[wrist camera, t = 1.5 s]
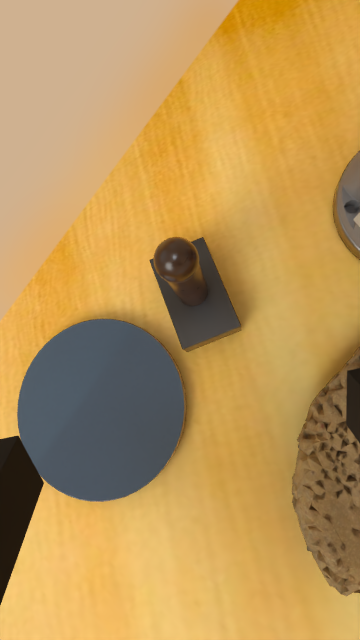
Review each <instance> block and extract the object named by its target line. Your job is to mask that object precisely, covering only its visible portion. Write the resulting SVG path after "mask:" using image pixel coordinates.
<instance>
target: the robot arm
mask: <svg viewBox="0 0 360 640" xmlns="http://www.w3.org/2000/svg"><path fill="white" fill-rule="evenodd" d="M333 215H334V221H335V225H336V228H337V230H338V233H339V235H340V237H341V239H342V241H343V242H344V243H345V245H346V246H347V248H348V249H349V250H350V251H351V252H352V253H353V254H354V255H355V256H356V257H357V258H358V259H359V260H360V151H359V152H358V153H357V154H356V155H355V156H354V157H353V159H352V160H351V161H350V162H349V164H348V165H347V167H346V168H345V170H344V172H343V174H342V176H341V178H340V181H339V183H338V185H337V188H336V191H335V194H334V200H333ZM346 425H347V426H348V428H349V429H350V431H351V432H352V433H353V435H354V436H355V438H356V439H357V440H358V442H359V443H360V368H358V369H353V370H347V403H346ZM43 484H44V482H43V480H42V478H41V477H40V475H39V473H38V471H37V469H36V467H35V465H34V464H33V462H32V460H31V458H30V456H29V454H28V453H27V451H26V449H25V447H24V445H23V443H22V441H21V440H20V438H19V436H14V437H9V438H4V439H0V605H1V602H2V599H3V596H4V593H5V591H6V588H7V585H8V582H9V579H10V577H11V574H12V571H13V568H14V565H15V563H16V560H17V557H18V554H19V551H20V548H21V546H22V543H23V540H24V537H25V534H26V532H27V529H28V526H29V523H30V520H31V518H32V515H33V512H34V509H35V506H36V503H37V501H38V498H39V495H40V492H41V489H42V487H43Z"/></svg>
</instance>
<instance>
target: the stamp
mask: <svg viewBox="0 0 360 640" xmlns="http://www.w3.org/2000/svg"><path fill="white" fill-rule="evenodd" d="M150 263H151V266H152V268H153V271H154V274H155V276H156V279H157V282H158V285H159V287H160V290H161V293H162V295H163V298H164V301H165V303H166V306H167V309H168V311H169V314H170V317H171V319H172V322H173V325H174V327H175V330H176V333H177V336H178V338H179V341H180V344H181V346H182V349H183V350H185V351H186V352H188V351H191V350H193V349H196V348H198V347H201V346H203V345H206V344H208V343H211V342H213V341H216V340H218V339H221V338H223V337H226V336H229V335H231V334H234V333H236V332H239V331H241V325H240V322H239V320H238V318H237V315H236V313H235V311H234V308H233V306H232V304H231V301H230V299H229V296H228V294H227V292H226V289H225V287H224V285H223V282H222V280H221V278H220V275H219V273H218V271H217V268H216V266H215V264H214V261H213V259H212V257H211V254H210V252H209V250H208V247H207V245H206V242H205V240H204V238H203V237H202V238H199V239H197V240H195V241H192V242H190V241H188V240H187V239H184V238H181V237H172V238H168V239H166V240H164V241H163V242H162V243H161V244H160V245H159V246H158V247H157V249H156V251H155V254H154V258H153V259H151V260H150Z"/></svg>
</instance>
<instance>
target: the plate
mask: <svg viewBox="0 0 360 640" xmlns="http://www.w3.org/2000/svg"><path fill="white" fill-rule="evenodd" d="M17 415H18V428H19V433H20V438H21V441H22V443H23V445H24V447H25V449H26V451H27V453H28V454H29V456H30V458H31V460H32V462H33V464H34V465H35V467H36V469H37V471H38V473H39V475H40V476H41V477H42V478H43V479H44V480H45V481H46V482H47V483H49V484H50V485H51V486H52V487H54V488H55V489H57V490H58V491H60V492H62V493H64V494H66V495H68V496H70V497H73V498H77V499H80V500H85V501H95V502H103V501H110V500H116V499H119V498H122V497H126V496H128V495H130V494H132V493H134V492H136V491H138V490H140V489H141V488H143V487H144V486H146V485H147V484H148V483H149V482H151V481H152V480H153V479H154V478H155V477H156V476H157V475H158V474H159V473H160V472H161V471H162V470H163V469H164V467H165V466H166V465H167V464H168V462H169V461H170V459H171V458H172V456H173V455H174V453H175V451H176V448H177V446H178V444H179V442H180V439H181V436H182V433H183V429H184V424H185V418H186V394H185V388H184V383H183V380H182V377H181V374H180V371H179V369H178V367H177V365H176V362H175V361H174V359H173V358H172V356H171V354H170V353H169V352H168V350H167V349H166V348H165V347H164V346H163V344H162V343H160V342H159V341H158V340H157V339H156V338H155V337H154V336H152V335H151V334H149V333H148V332H146V331H145V330H143V329H141V328H139V327H137V326H135V325H133V324H130V323H127V322H124V321H119V320H114V319H95V320H89V321H85V322H81V323H78V324H76V325H73V326H71V327H69V328H67V329H65V330H63V331H62V332H60V333H59V334H57V335H56V336H54V337H53V338H52V339H51V340H50V341H49V342H48V343H46V344H45V346H44V347H43V348H42V349H41V350H40V351H39V352H38V354H37V355H36V357H35V358H34V359H33V361H32V363H31V365H30V366H29V368H28V370H27V372H26V375H25V377H24V380H23V383H22V386H21V390H20V394H19V400H18V414H17Z"/></svg>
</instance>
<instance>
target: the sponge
mask: <svg viewBox="0 0 360 640" xmlns="http://www.w3.org/2000/svg"><path fill="white" fill-rule="evenodd" d="M358 368H360V347H359V348H358V349H357V350H356V351H355V353H354V355H353V356H352V358H351V359H350V360H349V361H348V362H347V363H346V364H345V366H344V367H343V368H342V370H341V371H340V372H339V373H338V374H336V375H335V376H334V377H333V378H332V379H331V380H330V382H329V383H328V384H327V385H326V387H325V388H324V389H322V390H321V391H320V392H319V394H318V395H317V396H316V398H315V399H314V400H313V402H312V404H311V406H310V409H309V412H308V416H307V419H306V423H305V424H304V426H303V428H302V431H301V433H300V435H299V437H298V439H297V441H298V442H299V445H298V448H299V452H298V457H297V463H296V469H295V473H294V475H293V478H292V479H293V486H292V494H293V500H292V503H293V506H294V509H295V512H296V513H297V516H298V520H299V524H300V528H301V531H302V534H303V536H304V539H305V541H306V544H307V550H308V551H311V552H312V554H313V557H314V559H315V561H316V562H317V564H318V566H319V568H320V570H321V572H322V573H323V575H324V577H325V578H326V580H327V582H328V583H329V585H330V586H332V587H335V588H336V589H337V590H338V591H339V593H340V594H342V595H345V596H348V595H349V594H351V593H353V592H354V593H360V443H359V442H358V440H357V439H356V438H355V436H354V435H353V433H352V432H351V431H350V429H349V428H348V426H347V425H346V403H347V370H353V369H358Z"/></svg>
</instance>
